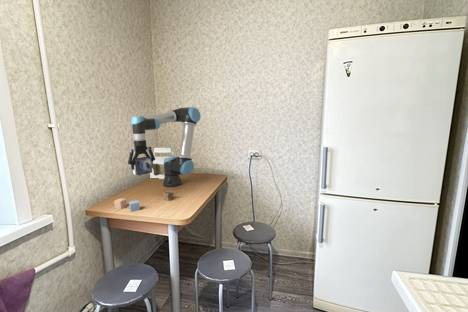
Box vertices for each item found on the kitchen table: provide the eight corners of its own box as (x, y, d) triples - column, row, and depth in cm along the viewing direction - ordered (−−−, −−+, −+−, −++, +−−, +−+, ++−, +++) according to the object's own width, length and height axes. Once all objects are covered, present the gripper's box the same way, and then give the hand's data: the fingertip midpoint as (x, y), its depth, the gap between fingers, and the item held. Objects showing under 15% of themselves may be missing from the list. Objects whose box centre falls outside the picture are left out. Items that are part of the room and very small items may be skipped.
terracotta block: (120, 205, 161) (120, 198, 160) (127, 206, 159) (126, 198, 158) (114, 208, 156) (114, 200, 155) (121, 209, 155) (120, 201, 154)
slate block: (138, 207, 156) (137, 200, 156) (139, 210, 152) (139, 202, 151) (129, 209, 154) (129, 201, 153) (131, 212, 150) (130, 204, 149)
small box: (138, 175, 159) (136, 159, 157) (133, 174, 163) (131, 158, 162) (152, 172, 167) (151, 157, 165) (147, 171, 171) (146, 156, 169)
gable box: (178, 175, 236) (176, 146, 232) (172, 179, 224) (170, 148, 219) (156, 175, 240) (154, 146, 235) (150, 178, 227) (147, 148, 222)
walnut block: (169, 197, 173) (168, 191, 173) (173, 199, 171) (173, 192, 170) (163, 200, 169) (162, 193, 168) (168, 201, 167) (167, 194, 166)
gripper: (153, 137, 172) (156, 168, 176) (119, 141, 156) (123, 175, 160) (158, 138, 167) (161, 170, 171) (124, 142, 150) (128, 177, 154)
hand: (143, 172), depth 165 cm, fingers closed on small box, 11 cm apart
